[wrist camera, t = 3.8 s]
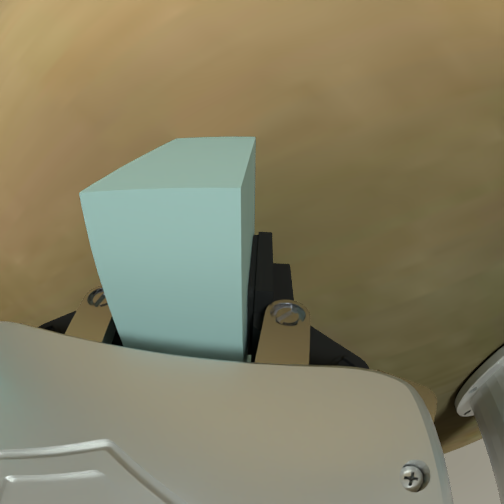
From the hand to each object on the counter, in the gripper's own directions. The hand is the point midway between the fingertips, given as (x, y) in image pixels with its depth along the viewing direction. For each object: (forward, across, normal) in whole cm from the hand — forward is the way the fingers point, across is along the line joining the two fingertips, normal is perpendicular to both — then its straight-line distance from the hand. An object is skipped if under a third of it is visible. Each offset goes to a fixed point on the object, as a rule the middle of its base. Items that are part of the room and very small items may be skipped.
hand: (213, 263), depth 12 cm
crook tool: (+1, -4, +6) cm, 7 cm away
